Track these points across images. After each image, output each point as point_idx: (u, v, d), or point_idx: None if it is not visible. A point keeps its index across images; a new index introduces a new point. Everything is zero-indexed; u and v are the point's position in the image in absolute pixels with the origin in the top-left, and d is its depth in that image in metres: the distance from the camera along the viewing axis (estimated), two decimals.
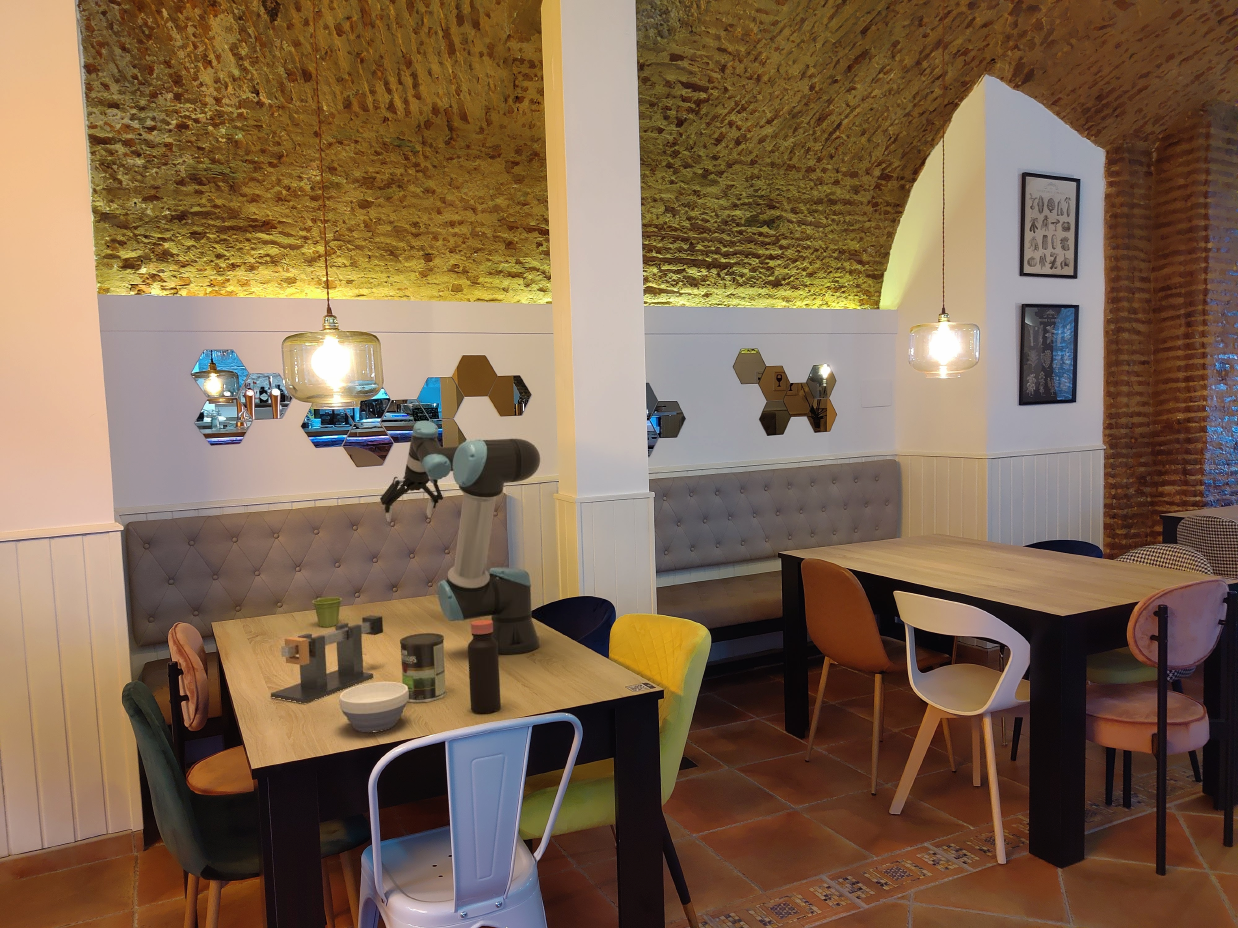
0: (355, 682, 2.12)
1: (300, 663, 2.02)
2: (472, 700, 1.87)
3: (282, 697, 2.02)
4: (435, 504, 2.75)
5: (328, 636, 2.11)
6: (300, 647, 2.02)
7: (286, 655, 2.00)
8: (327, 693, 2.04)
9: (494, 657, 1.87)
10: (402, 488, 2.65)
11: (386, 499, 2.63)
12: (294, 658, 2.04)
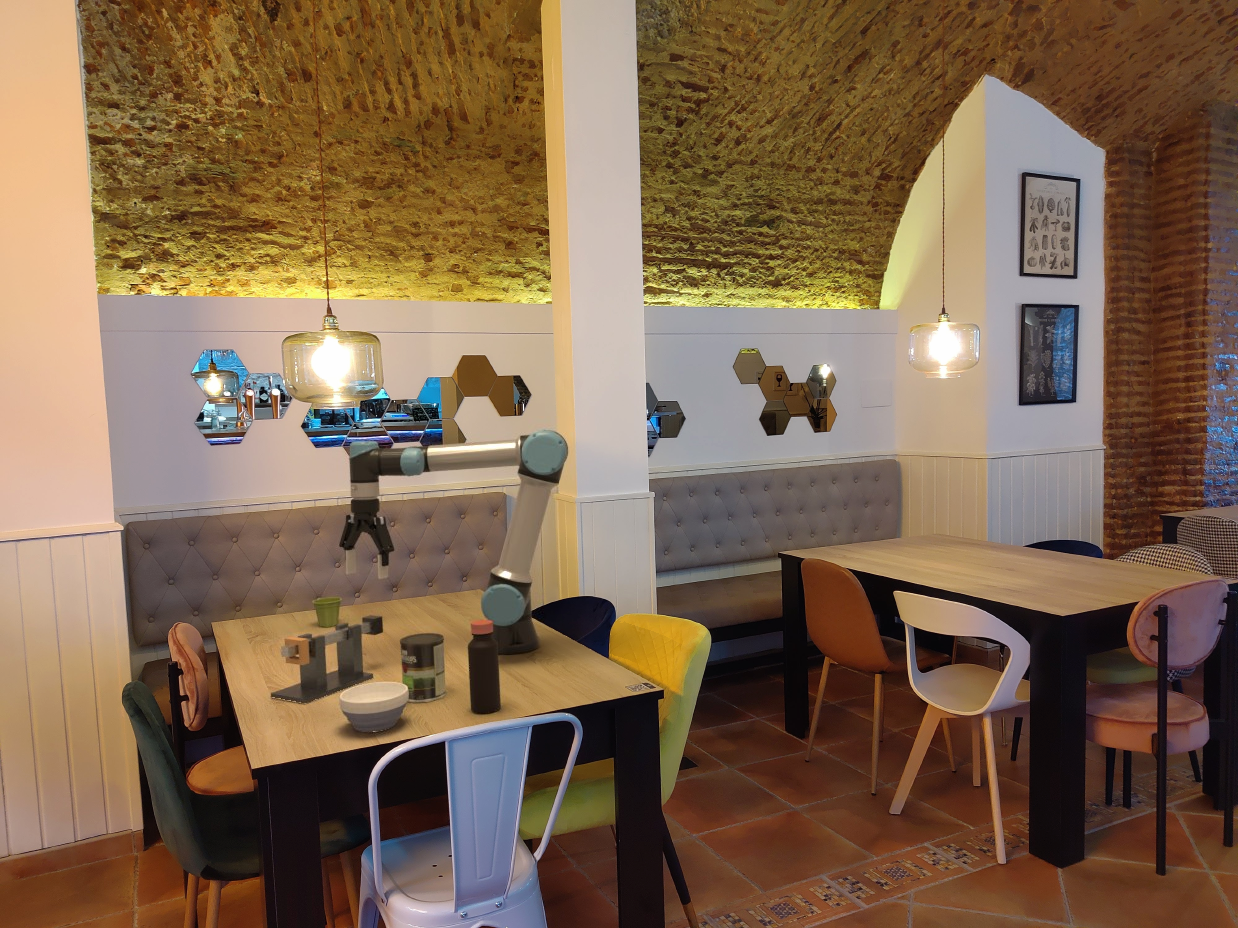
0: (355, 682, 2.12)
1: (300, 663, 2.02)
2: (472, 700, 1.87)
3: (282, 697, 2.02)
4: None
5: (328, 636, 2.11)
6: (300, 647, 2.02)
7: (286, 655, 2.00)
8: (327, 693, 2.04)
9: (494, 657, 1.87)
10: (375, 531, 2.25)
11: None
12: (294, 658, 2.04)
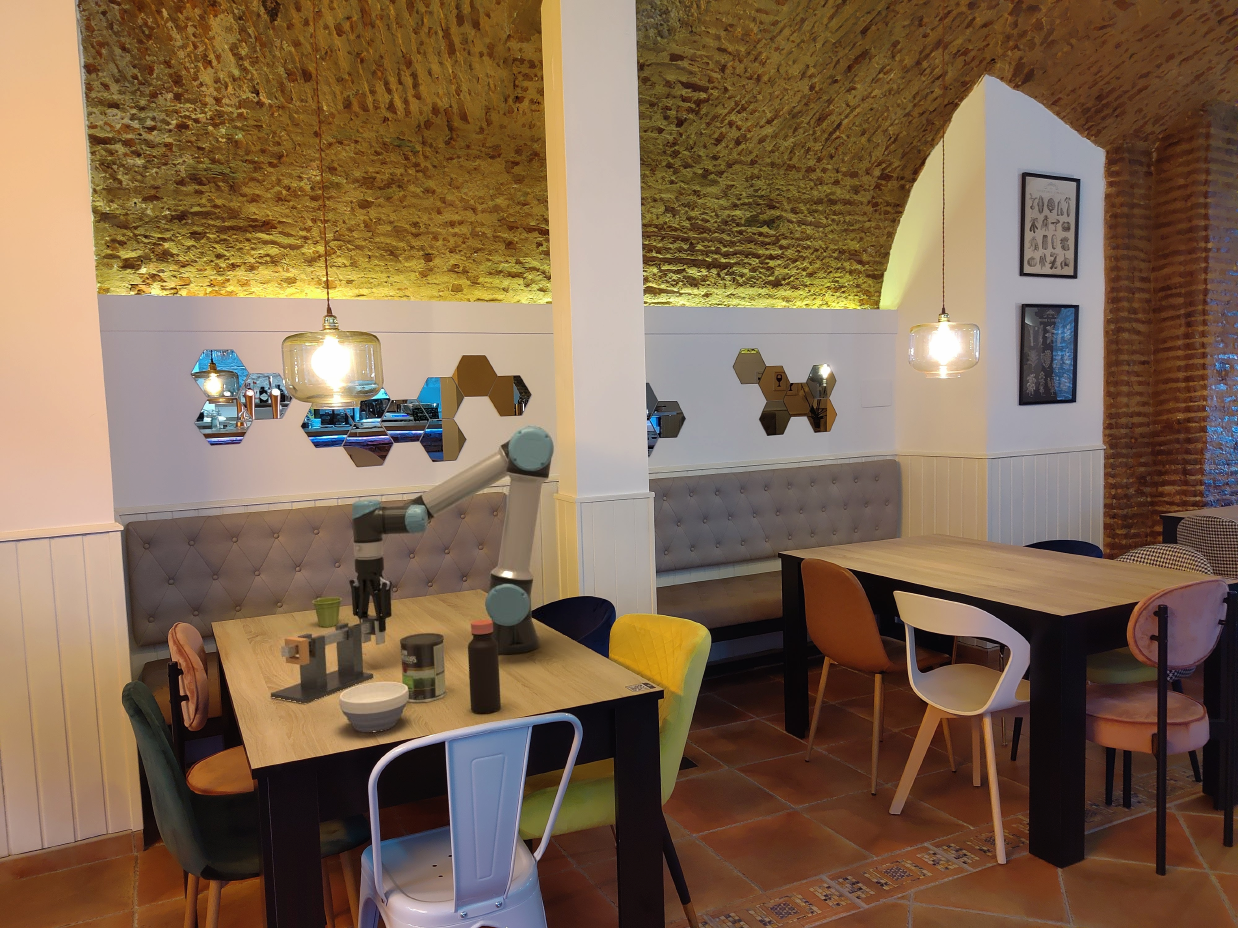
0: (355, 682, 2.12)
1: (300, 663, 2.02)
2: (472, 700, 1.87)
3: (282, 697, 2.02)
4: None
5: (328, 636, 2.11)
6: (300, 647, 2.02)
7: (286, 655, 2.00)
8: (327, 693, 2.04)
9: (494, 657, 1.87)
10: (378, 593, 2.24)
11: None
12: (294, 658, 2.04)
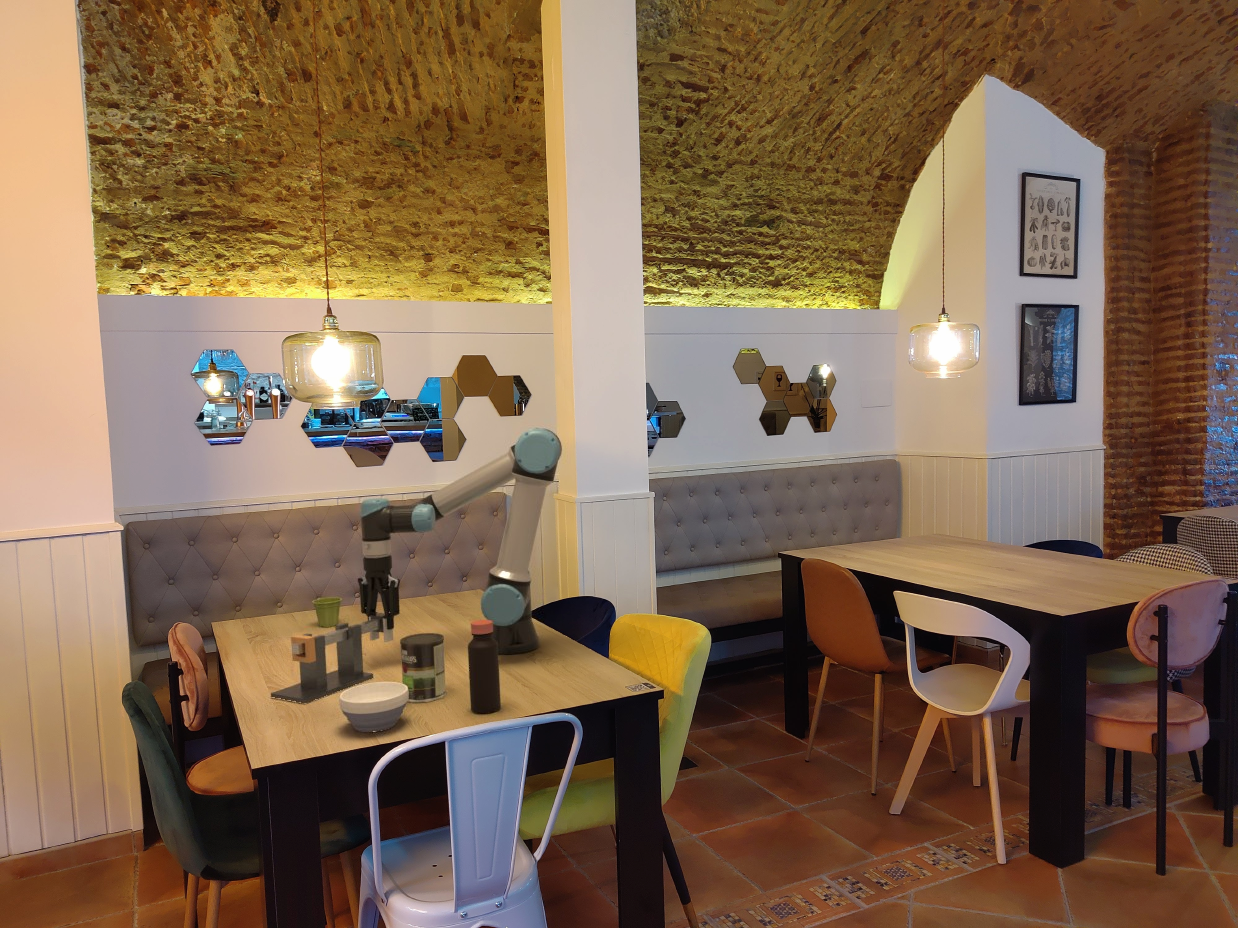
0: (355, 682, 2.12)
1: (307, 661, 2.04)
2: (472, 700, 1.87)
3: (282, 697, 2.02)
4: None
5: (337, 633, 2.13)
6: (307, 645, 2.03)
7: (296, 652, 2.03)
8: (327, 693, 2.04)
9: (494, 657, 1.87)
10: (386, 591, 2.27)
11: None
12: (301, 656, 2.05)
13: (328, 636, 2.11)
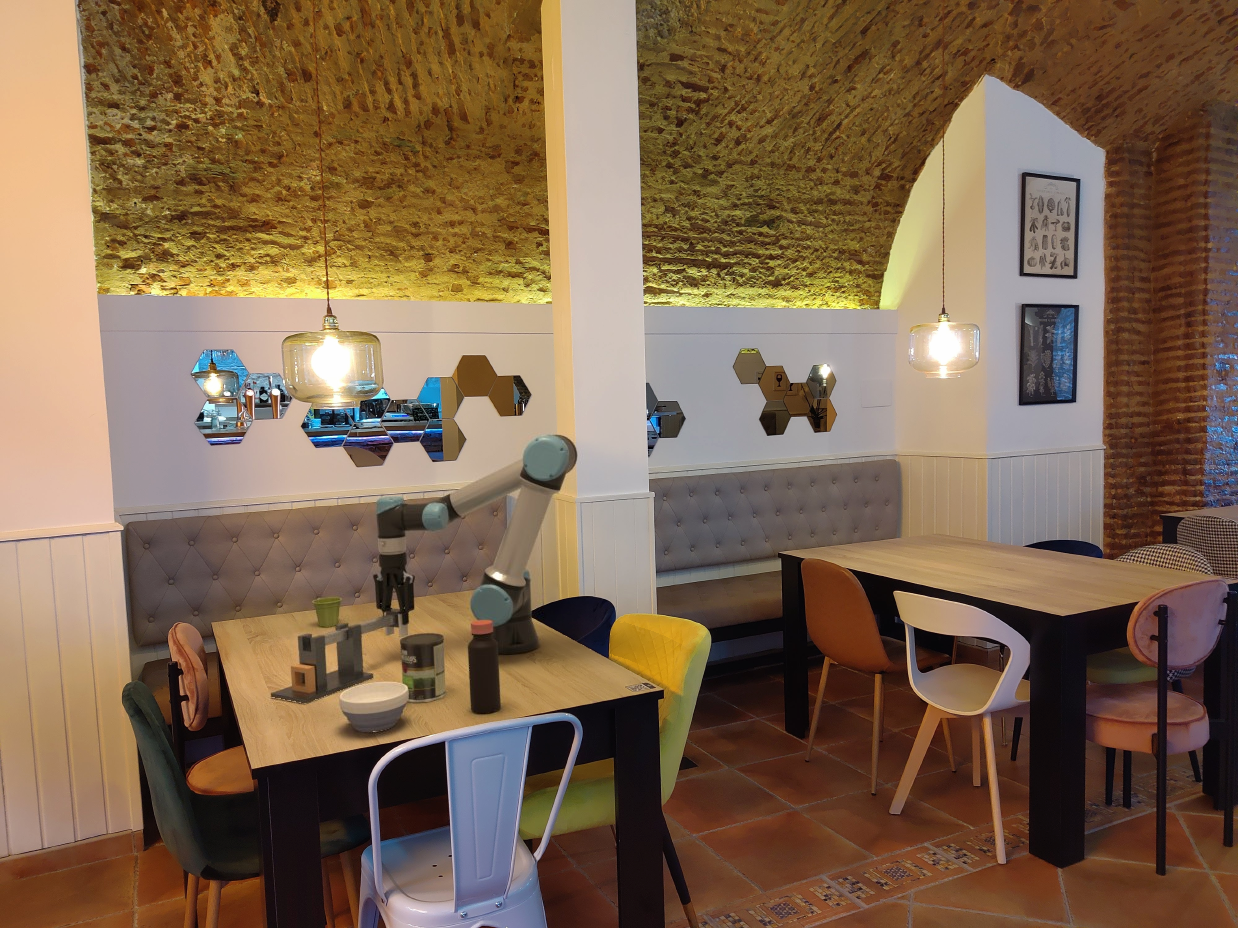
0: (355, 682, 2.12)
1: (306, 691, 2.03)
2: (472, 700, 1.87)
3: (282, 697, 2.02)
4: None
5: None
6: (306, 675, 2.03)
7: None
8: (327, 693, 2.04)
9: (494, 657, 1.87)
10: (401, 587, 2.32)
11: None
12: (300, 685, 2.05)
13: (345, 631, 2.16)
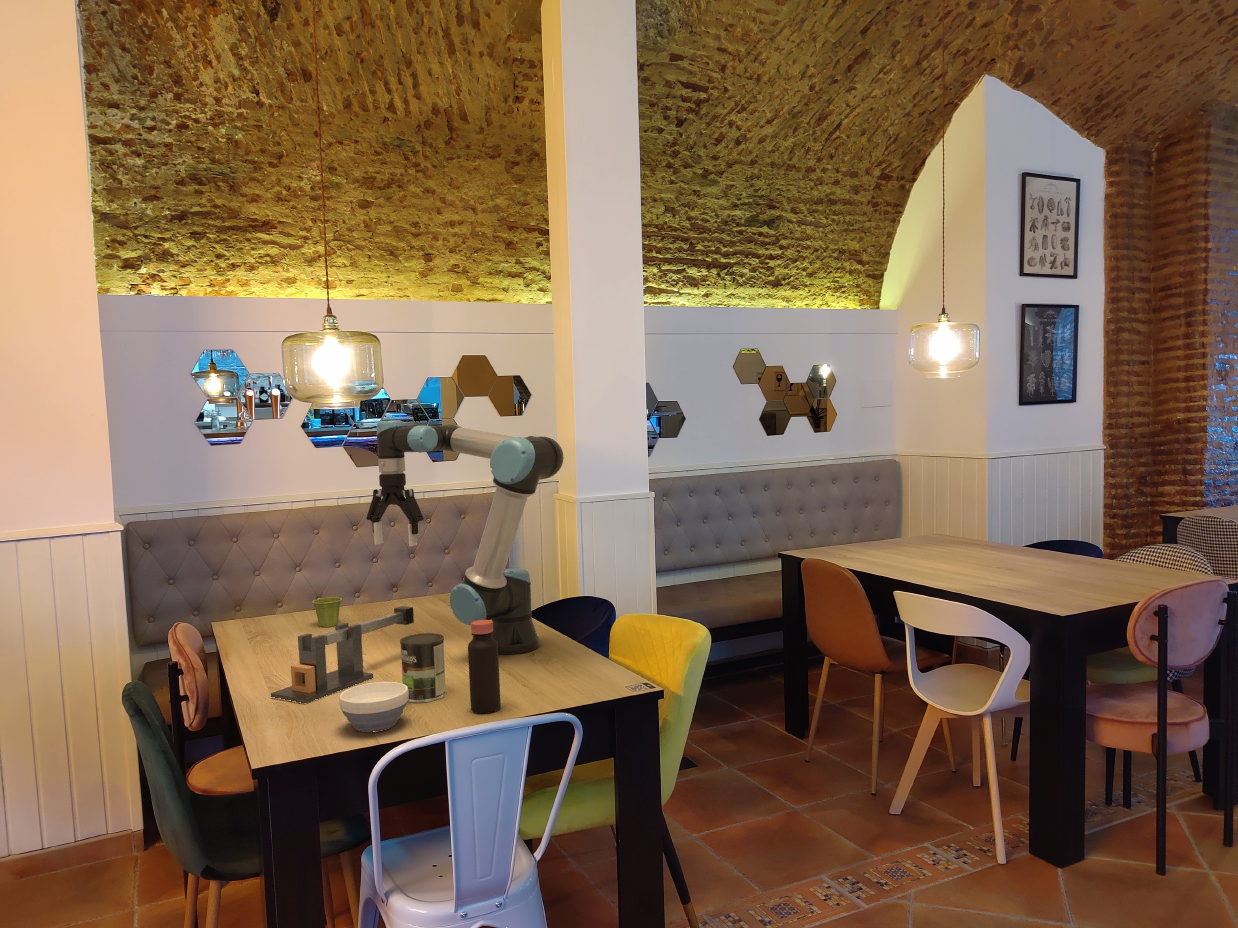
0: (355, 682, 2.12)
1: (306, 691, 2.03)
2: (472, 700, 1.87)
3: (282, 697, 2.02)
4: None
5: (363, 625, 2.21)
6: (306, 675, 2.03)
7: (325, 643, 2.11)
8: (327, 693, 2.04)
9: (495, 657, 1.87)
10: (403, 502, 2.44)
11: None
12: (300, 685, 2.05)
13: None
